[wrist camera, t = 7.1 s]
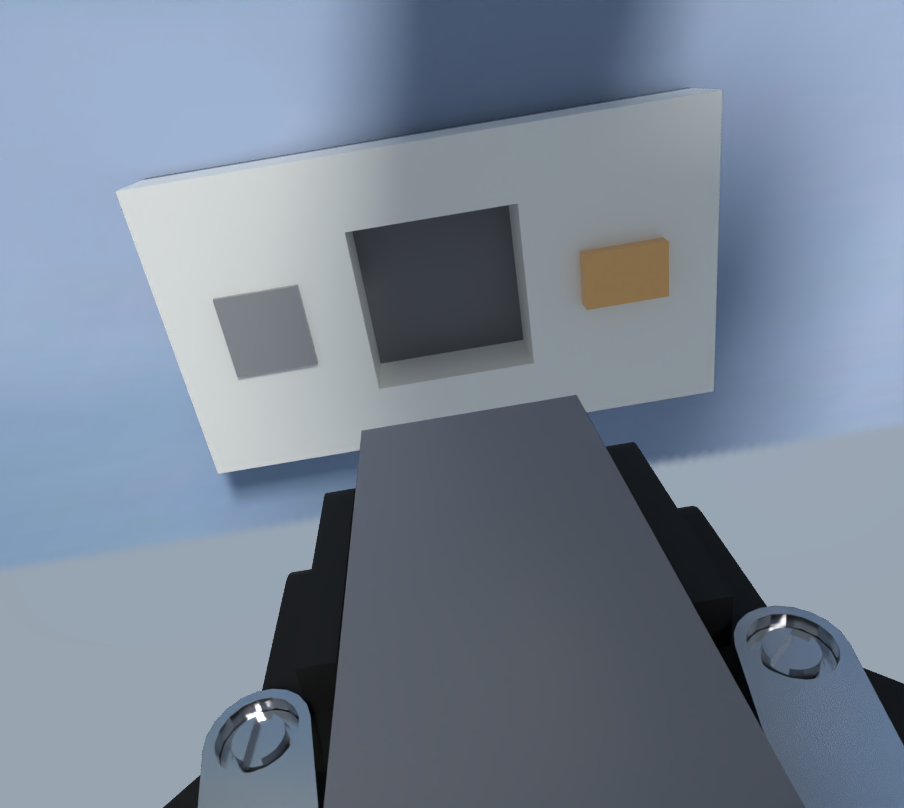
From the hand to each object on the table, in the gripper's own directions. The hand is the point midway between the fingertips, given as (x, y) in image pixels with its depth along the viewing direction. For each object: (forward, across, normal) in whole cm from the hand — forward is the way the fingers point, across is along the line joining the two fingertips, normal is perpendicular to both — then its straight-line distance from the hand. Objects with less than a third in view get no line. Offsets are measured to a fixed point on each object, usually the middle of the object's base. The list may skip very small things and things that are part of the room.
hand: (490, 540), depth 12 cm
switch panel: (+17, 0, 0) cm, 17 cm away
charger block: (+1, 0, 0) cm, 1 cm away
